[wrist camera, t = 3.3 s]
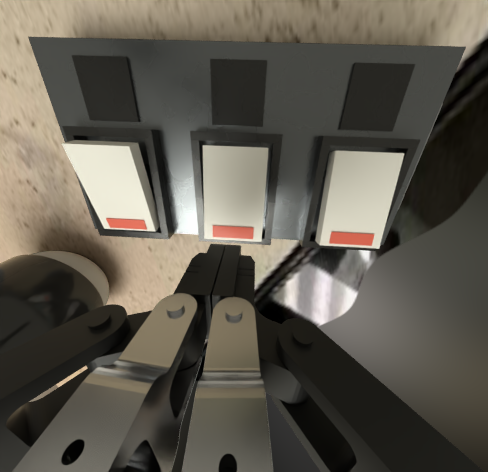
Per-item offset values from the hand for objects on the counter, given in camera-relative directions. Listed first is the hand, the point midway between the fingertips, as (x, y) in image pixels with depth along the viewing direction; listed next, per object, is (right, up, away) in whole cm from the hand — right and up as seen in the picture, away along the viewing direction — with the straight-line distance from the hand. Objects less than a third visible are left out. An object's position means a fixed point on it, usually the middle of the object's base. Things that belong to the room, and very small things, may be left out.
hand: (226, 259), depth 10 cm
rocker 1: (-8, +4, +3) cm, 9 cm away
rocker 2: (+8, +3, +3) cm, 9 cm away
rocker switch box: (+1, +8, +6) cm, 10 cm away
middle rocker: (0, +4, +3) cm, 5 cm away
